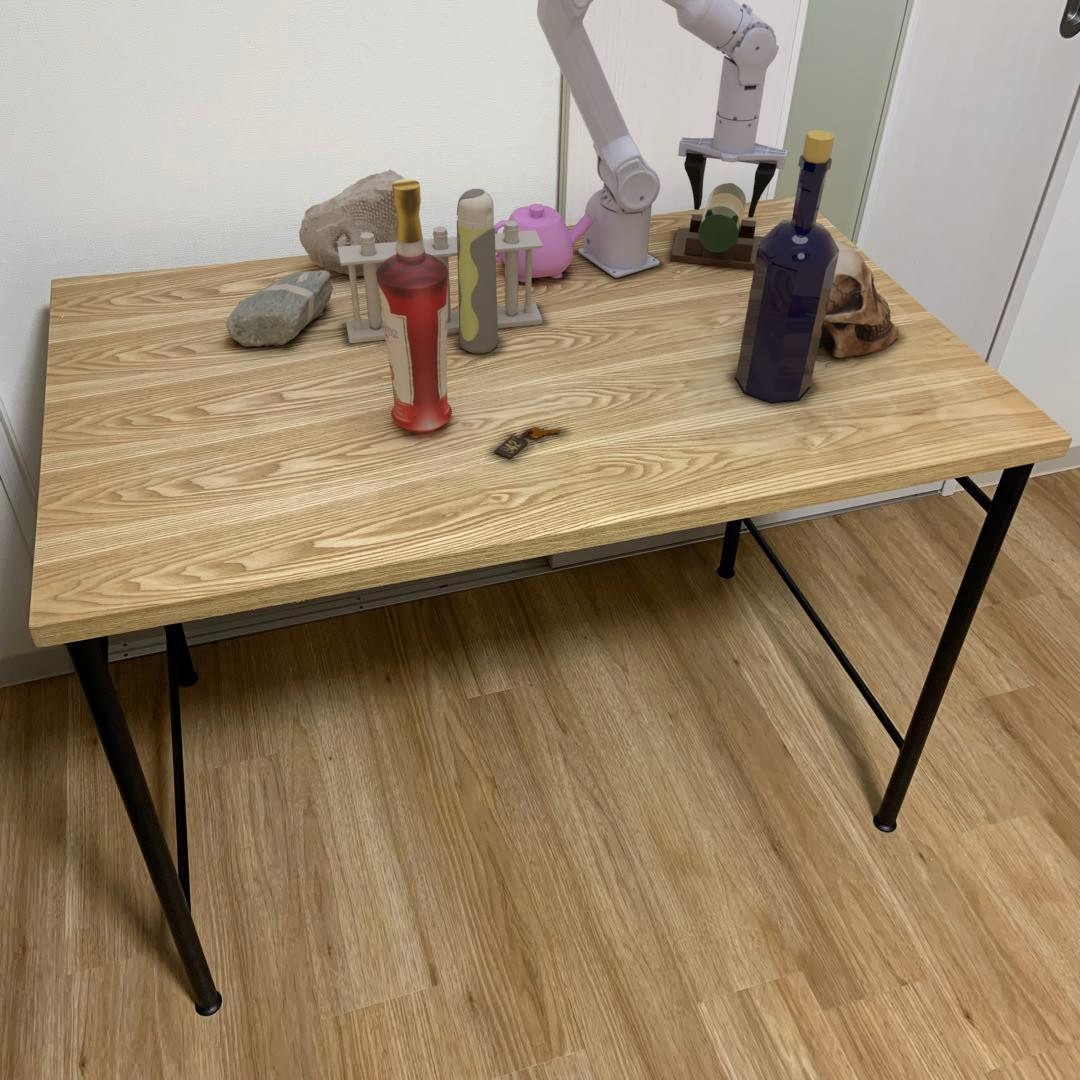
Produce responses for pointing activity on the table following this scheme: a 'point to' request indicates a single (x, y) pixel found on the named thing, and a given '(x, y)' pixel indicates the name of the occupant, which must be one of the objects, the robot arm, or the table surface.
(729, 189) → the wine bottle
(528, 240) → the test tube rack
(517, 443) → the key tag
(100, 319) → the table surface
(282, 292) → the decorative stone
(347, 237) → the fossil
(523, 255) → the teapot
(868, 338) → the skull
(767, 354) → the bottle
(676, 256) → the wine rack
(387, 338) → the liquor
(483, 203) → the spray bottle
